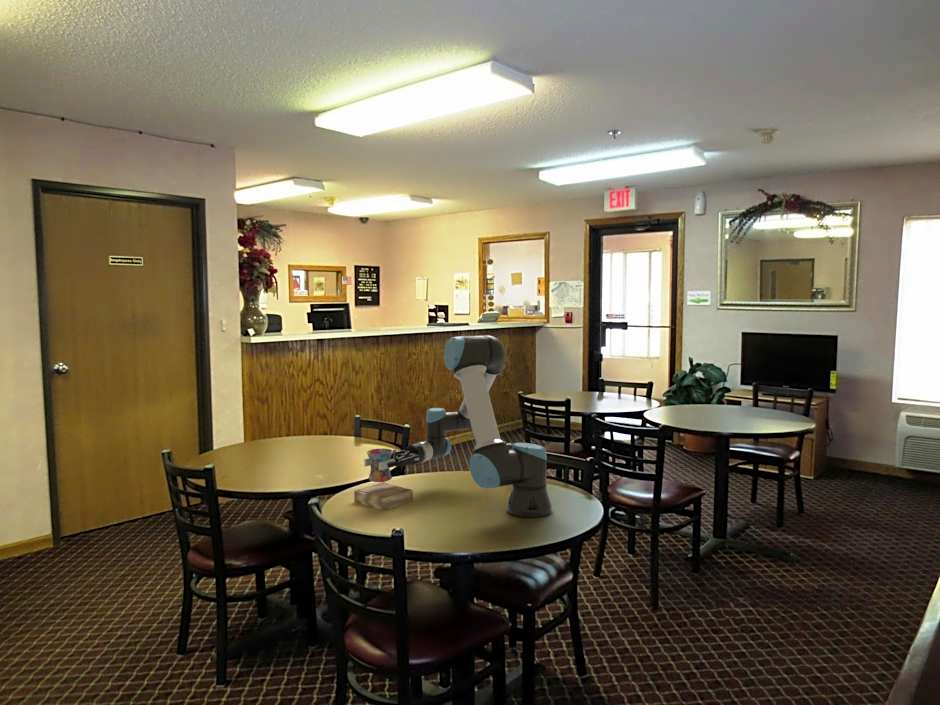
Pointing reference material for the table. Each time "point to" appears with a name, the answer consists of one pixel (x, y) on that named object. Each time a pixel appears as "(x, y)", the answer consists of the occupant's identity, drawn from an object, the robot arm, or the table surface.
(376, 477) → the mug
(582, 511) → the table surface
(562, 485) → the table surface
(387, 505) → the block
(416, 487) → the table surface
